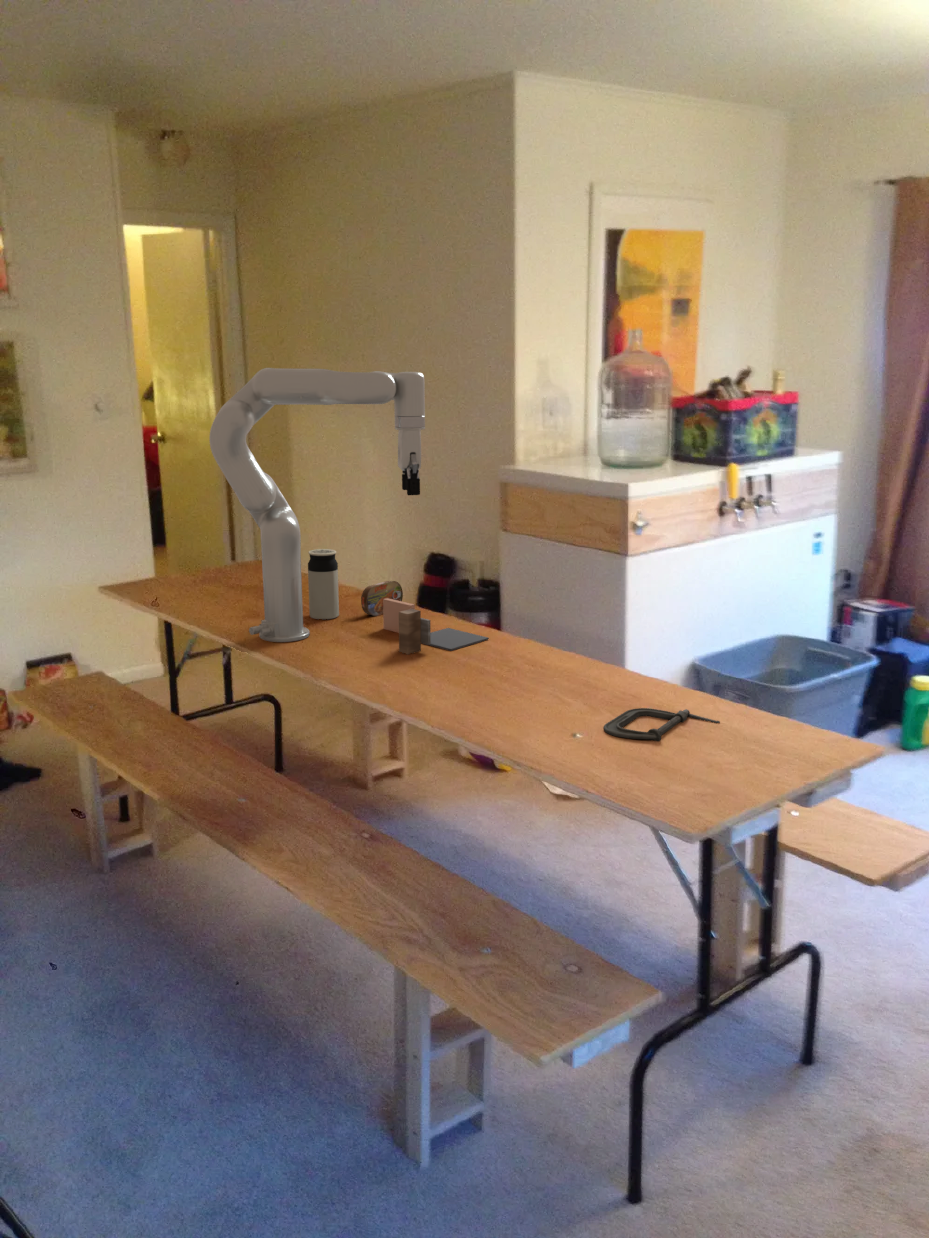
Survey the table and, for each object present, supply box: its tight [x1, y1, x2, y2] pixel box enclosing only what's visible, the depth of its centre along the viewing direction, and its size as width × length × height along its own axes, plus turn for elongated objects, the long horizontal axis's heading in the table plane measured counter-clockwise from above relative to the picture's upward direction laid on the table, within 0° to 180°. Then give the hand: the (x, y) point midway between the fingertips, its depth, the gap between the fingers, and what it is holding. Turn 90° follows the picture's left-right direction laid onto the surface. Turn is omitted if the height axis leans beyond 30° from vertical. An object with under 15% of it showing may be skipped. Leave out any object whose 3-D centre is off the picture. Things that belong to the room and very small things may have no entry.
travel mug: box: [307, 548, 340, 621], centre depth 288 cm, size 8×8×18 cm
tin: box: [360, 580, 404, 617], centre depth 294 cm, size 15×3×8 cm, turn 143°
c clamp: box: [603, 707, 721, 742], centre depth 208 cm, size 20×17×3 cm
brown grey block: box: [398, 608, 431, 655], centre depth 257 cm, size 5×8×10 cm, turn 48°
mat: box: [421, 627, 490, 652], centre depth 268 cm, size 14×14×1 cm
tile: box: [382, 598, 416, 634], centre depth 275 cm, size 2×10×8 cm, turn 48°
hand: (411, 492), depth 268 cm, fingers open, 9 cm apart
